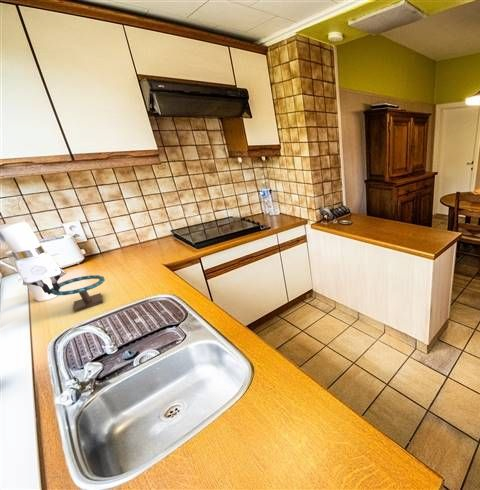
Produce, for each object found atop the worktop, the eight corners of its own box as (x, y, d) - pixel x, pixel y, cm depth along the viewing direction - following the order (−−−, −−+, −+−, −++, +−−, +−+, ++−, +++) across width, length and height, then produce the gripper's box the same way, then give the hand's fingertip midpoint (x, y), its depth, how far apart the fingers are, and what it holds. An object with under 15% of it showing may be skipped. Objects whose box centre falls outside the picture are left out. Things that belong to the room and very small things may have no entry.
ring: (49, 300, 106) (48, 296, 105) (52, 286, 117) (50, 282, 116) (106, 286, 117) (105, 283, 117) (103, 274, 128) (102, 271, 128)
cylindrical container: (57, 291, 132) (30, 245, 123) (58, 295, 128) (30, 249, 118) (36, 298, 127) (5, 251, 118) (36, 303, 123) (4, 254, 113)
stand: (75, 312, 115) (66, 297, 112) (75, 304, 121) (67, 290, 118) (103, 302, 121) (95, 288, 118) (101, 295, 127) (94, 282, 124)
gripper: (-5, 262, 97) (24, 304, 104) (57, 248, 107) (80, 287, 115) (-1, 257, 102) (26, 297, 109) (58, 244, 112) (79, 281, 119)
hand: (53, 291), depth 112 cm, fingers closed on ring, 1 cm apart
